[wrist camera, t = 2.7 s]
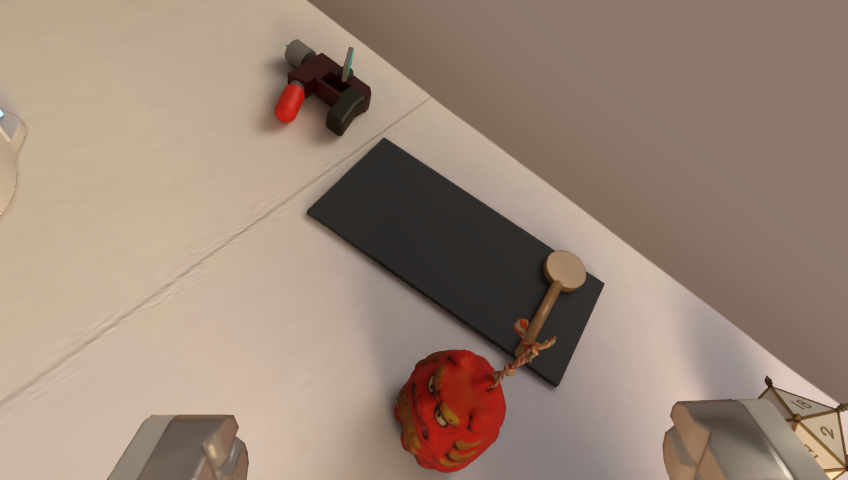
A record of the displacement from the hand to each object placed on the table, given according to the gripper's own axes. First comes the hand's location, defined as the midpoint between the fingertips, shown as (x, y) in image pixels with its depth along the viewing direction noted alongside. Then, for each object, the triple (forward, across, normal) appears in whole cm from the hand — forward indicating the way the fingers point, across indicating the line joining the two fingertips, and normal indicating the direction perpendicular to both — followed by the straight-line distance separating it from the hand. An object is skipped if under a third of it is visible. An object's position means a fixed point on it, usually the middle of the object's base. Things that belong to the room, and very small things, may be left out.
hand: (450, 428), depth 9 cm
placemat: (+33, -1, +16) cm, 37 cm away
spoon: (+29, -9, +20) cm, 36 cm away
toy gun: (+45, +14, +4) cm, 47 cm away
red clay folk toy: (+19, +1, +23) cm, 30 cm away
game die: (+22, -25, +31) cm, 46 cm away
